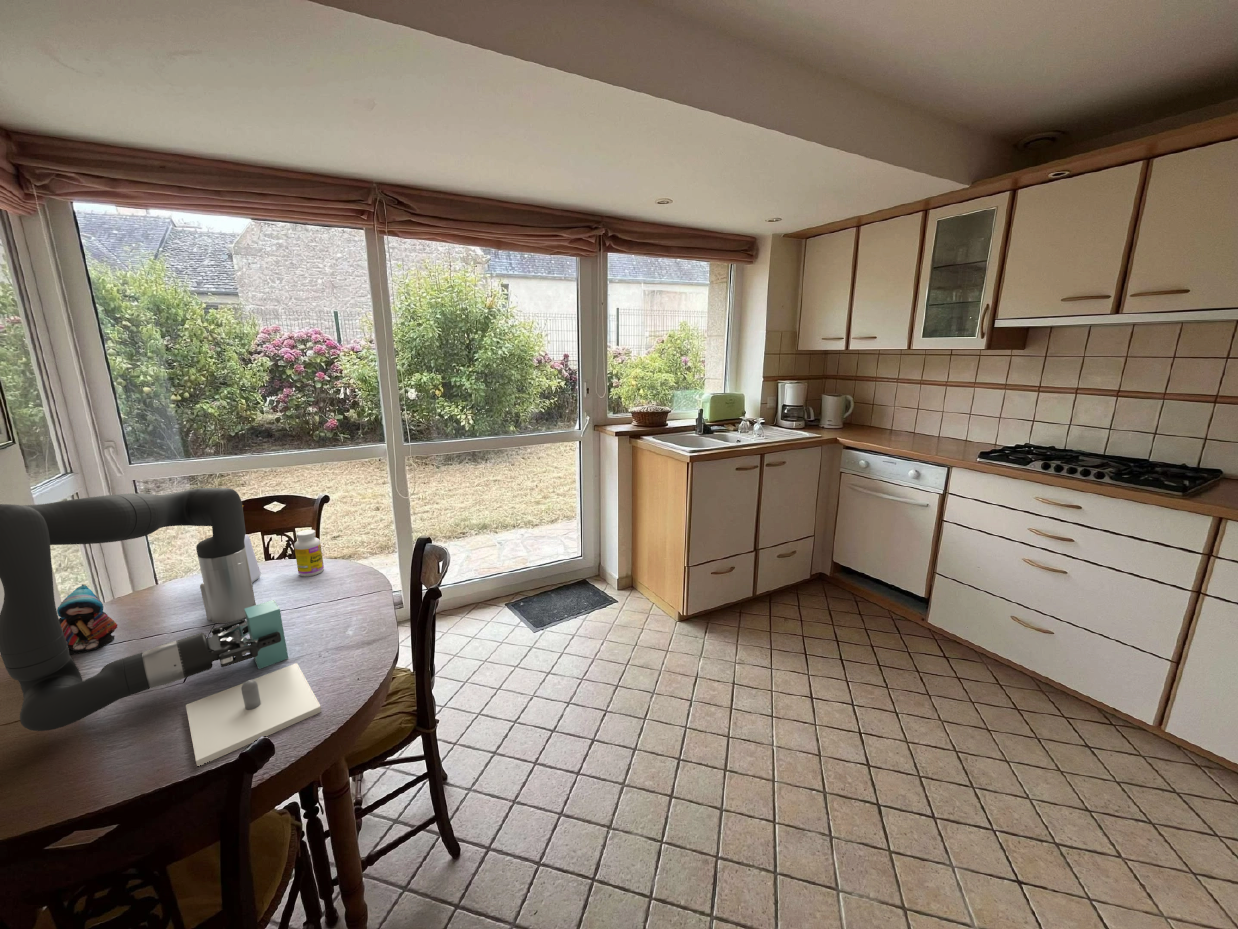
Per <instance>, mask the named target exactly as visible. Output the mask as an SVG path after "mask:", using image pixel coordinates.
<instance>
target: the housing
mask: <svg viewBox="0 0 1238 929" xmlns="http://www.w3.org/2000/svg"><path fill="white" fill-rule="evenodd" d="M244 610H245V615H246V617H245V621H247V625H248V631H249V634H248V635H249V639H258V638H259V637H262V636H265V635H268V634H271V633H274V632H279V633H280V635H281V641H280V642H278V643H275V644H272V645H270V646H267V647H264V648H261V649H260V651H258V656H256V657H254V658H253V660H254V662H255V664H256V667H257V669H258V670H261V669H263V668H267V667H269V666H272V665H274V664H277V663H279V662H282V661H285V660H288V659H289V655H288V648H287V644H286V637H285V631H284V627H283V626H284V625H283V621H282V615H281V613H282V612H281V609H280V607H279V606H278V603H277V602H276V601H275V599H271V600H269V601H265V602H262V603H258V604H256V605H255V606H251V607H248V608H245V609H244ZM258 640H259V639H258Z"/></svg>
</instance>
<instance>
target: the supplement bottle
mask: <svg viewBox="0 0 1238 929" xmlns="http://www.w3.org/2000/svg"><path fill="white" fill-rule="evenodd" d="M296 538H297V540H296V542H294V544H293V546H294V553H295V559H296V560H295V561H296V566H297V568H296V569H297V573H298V575H299V576H301V577H314V576H317V575H319V574H320V573H322V572H323V571H324V569H325V566H324V559H323V552H322V545H321V544H322V543H321V540H320V539H319V538H317V537H316V530H314V529H305V530H300V531H298V532H297V533H296Z"/></svg>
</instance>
